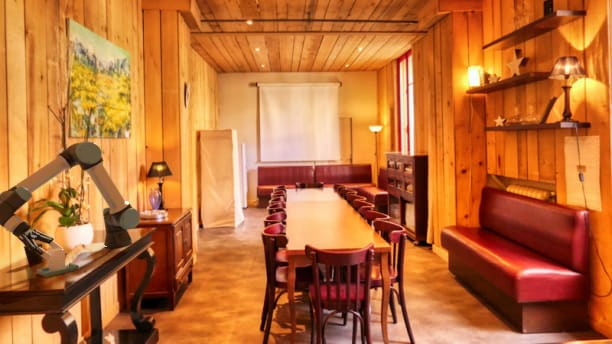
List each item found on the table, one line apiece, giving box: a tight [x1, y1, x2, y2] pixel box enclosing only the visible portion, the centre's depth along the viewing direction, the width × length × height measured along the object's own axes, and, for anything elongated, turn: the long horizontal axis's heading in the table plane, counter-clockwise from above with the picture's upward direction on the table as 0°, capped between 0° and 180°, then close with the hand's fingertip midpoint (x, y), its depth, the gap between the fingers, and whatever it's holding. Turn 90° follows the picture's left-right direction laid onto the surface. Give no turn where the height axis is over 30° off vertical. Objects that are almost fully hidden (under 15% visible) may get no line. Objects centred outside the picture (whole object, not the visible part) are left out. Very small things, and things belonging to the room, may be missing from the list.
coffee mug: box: [23, 242, 44, 266], centre depth 246 cm, size 12×9×10 cm
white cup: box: [45, 247, 66, 272], centre depth 220 cm, size 8×8×10 cm
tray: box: [36, 262, 80, 279], centre depth 220 cm, size 14×14×2 cm
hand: (55, 254), depth 219 cm, fingers open, 13 cm apart
